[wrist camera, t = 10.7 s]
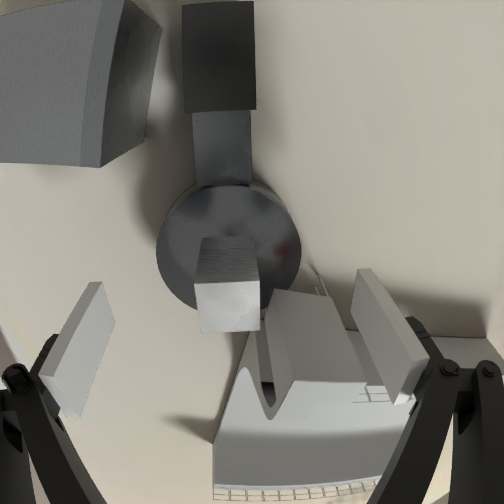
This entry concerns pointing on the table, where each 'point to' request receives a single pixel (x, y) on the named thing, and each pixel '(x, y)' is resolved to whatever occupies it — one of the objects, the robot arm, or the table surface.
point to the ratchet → (225, 183)
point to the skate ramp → (313, 402)
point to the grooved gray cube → (75, 81)
